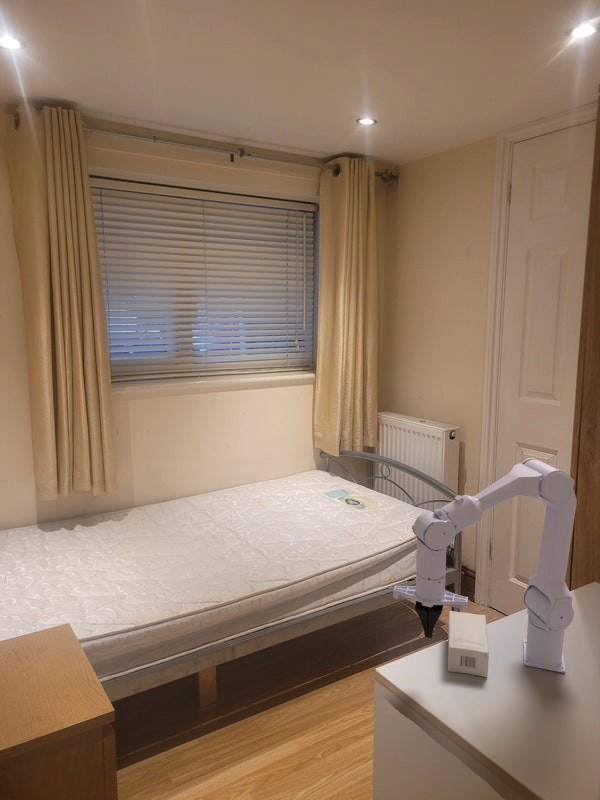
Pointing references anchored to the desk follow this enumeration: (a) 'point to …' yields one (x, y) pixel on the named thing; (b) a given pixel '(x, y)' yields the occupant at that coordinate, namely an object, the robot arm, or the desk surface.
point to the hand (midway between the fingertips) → (428, 635)
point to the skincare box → (468, 644)
